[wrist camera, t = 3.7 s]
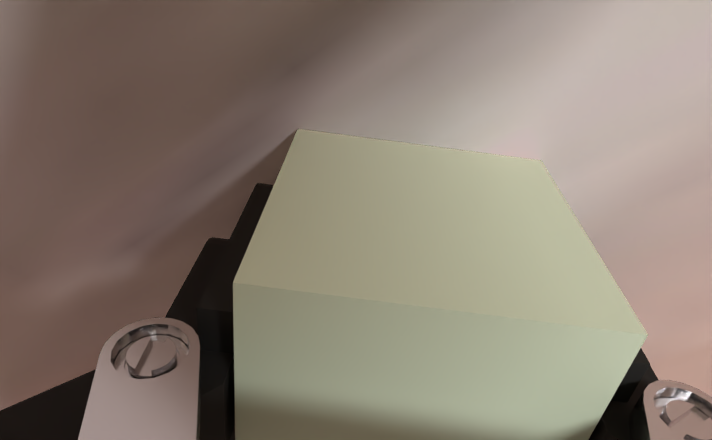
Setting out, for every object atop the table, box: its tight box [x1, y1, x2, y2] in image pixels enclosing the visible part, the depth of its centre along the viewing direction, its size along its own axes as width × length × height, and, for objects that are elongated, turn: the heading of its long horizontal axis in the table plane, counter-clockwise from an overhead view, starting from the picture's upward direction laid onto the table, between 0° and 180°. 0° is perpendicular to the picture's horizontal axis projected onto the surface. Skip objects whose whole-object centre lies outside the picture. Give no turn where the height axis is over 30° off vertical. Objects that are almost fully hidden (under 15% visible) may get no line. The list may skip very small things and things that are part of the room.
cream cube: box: [233, 129, 648, 440], centre depth 9 cm, size 5×5×5 cm
